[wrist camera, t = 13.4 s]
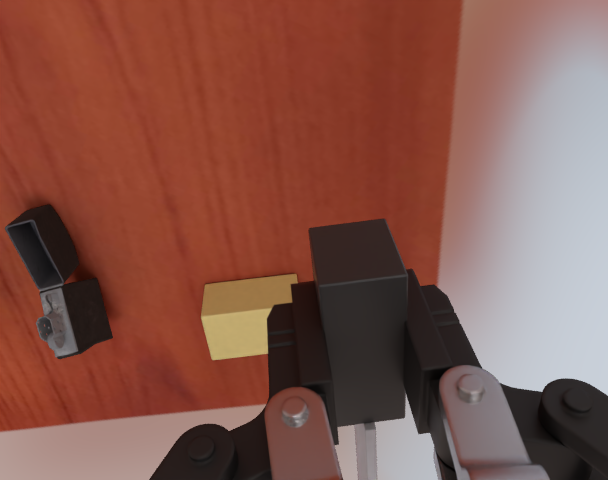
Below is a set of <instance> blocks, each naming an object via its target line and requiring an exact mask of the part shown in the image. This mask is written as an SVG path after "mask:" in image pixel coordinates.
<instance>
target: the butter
mask: <svg viewBox="0 0 608 480" xmlns="http://www.w3.org/2000/svg"><path fill="white" fill-rule="evenodd" d="M294 283H298V281H297V275H296V274H288V275H279V276H271V277H262V278H254V279H245V280H237V281H229V282H220V283H212V284H205V287H204V295H203V303H202V312H201V320H202V324H203V327H204V331H205V335H206V339H207V343H208V347H209V351H210V355H211V358H212V360H219V359H228V358H236V357H244V356H252V355H261V354H268V339H267V336H268V335H267V317H268V315H269V313H270V311H271V309H272V307H273V306H274V305H276V304H284V303H292V294H291V284H294Z"/></svg>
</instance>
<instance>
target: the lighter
mask: <svg viewBox="0 0 608 480" xmlns="http://www.w3.org/2000/svg"><path fill="white" fill-rule="evenodd" d="M5 230H6V232H7V233H8V235H9V237H10V239H11V241H12V242H13V244H14V246H15V248H16V250H17V252H18V253H19V255H20V257H21V259H22V261H23V262H24V264H25V266H26V268H27V270H28V271H29V273H30V275H31V277H32V279H33V281H34V282H35V284H36V286H37V288H38V289H39V290H40V297H41V301H42V306H43V311H44V316H43V317H40V318H38V320H37V322H36V325H37V328H38V332H39V336H40V338H41V339H42V340H44V341H46V342H48V345H49V347H50V348H51V349H52V350H54V353H55V356H56V357H57V358H58V359H62V358H66V357H70V356H74V355H78V354H81V353H83V352H84V351H86V350H87V349H89V348H90V347H91V346H93V345H94V344H96V343H99V342H103V341H106V340H109V339H112V338H113V336H112V332H111V329H110V325H109V321H108V317H107V314H106V310H105V306H104V303H103V299H102V295H101V292H100V288H99V284H98V280H97V278H92V279H87V280H83V281H78V282H73V283H68V284H64V283H65V281H66V280H67V279H68V278H69V276H70V275H71V274H72V273H73V271H74V270H75V269H76V268H77V266H78V265H79V260H78V256H77V253H76V250H75V247H74V245H73V243H72V241H71V238H70V236H69V234H68V232H67V230H66V228H65V226H64V225H63V223H62V221H61V219H60V217H59V216H58V215H57V213H56V212H55V211H54V209H53V208H52V206H51V205H45V206H41V207H37V208H34V209H30V210H27V211H25V212H24V213H23V214H21V215H20V216H19V217H18V218H16V219H15V220H14V221H12V222H11V223H10V224H9V225H7V226H6V227H5ZM63 284H64V285H63ZM38 322H39V324H38ZM44 324H45V327H44ZM40 331H41V333H40ZM46 333H47V335H46Z"/></svg>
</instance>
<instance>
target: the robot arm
mask: <svg viewBox="0 0 608 480" xmlns="http://www.w3.org/2000/svg"><path fill="white" fill-rule="evenodd" d="M406 271H407V274H408V305H407V321H405V329H404V379H403V385H404V388H405V391H406V394H407V398H408V401H409V404H410V408H411V411H412V414H413V418H414V421H415V424H416V427H417V431H418V433H419V434H423V433H430V434H431V437H432V440H433V443H434V463H435V467H436V471H437V476H438V480H608V396H607V395H606V394H604V393H603V392H601V391H600V390H598V389H597V388H595V387H593V386H591V385H590V384H587V383H585V382H582V381H579V380H575V379H558V380H555V381H552V382H550V383H549V384H547V386H545V388H544V390H543V392H538V391H531V390H524V389H517V388H512V387H509V386H506V385H503V384H501V383H499V381H498V380H497V379H496V378H495V377H494V376H493V375H492V374H490V373H489V372H488V371H486V370H484V369H482V367H481V365H480V363H479V361H478V359H477V357H476V355H475V353H474V351H473V349H472V347H471V345H470V342H469V340H468V338H467V336H466V334H465V332H464V330H463V328H462V326H461V324H460V323H459V319H458V317H457V315H456V313H454V309H453V307H452V305H451V303H450V301H449V298H448V297H447V295H445V294H444V293H443V292H442V291H441V290H440V289H439V288H437V287H436V286H435V285H427V286H420V285H419V282H418V280H417V277H416V275H415V273H414V271H413V269H406ZM291 294H292V303H284V304H276V305H274V306H273V307H272V309H271V311H270V313H269V315H268V317H267V335H268V336H267V339H268V367H269V399H268V402H267V404H266V406H265V408H264V409H263V411H262V412H261V413H260V414H259V415H258V416H257V417H256V418H255V419H253V420H252V421H250V422H248V423H246V424H244V425H242V426H240V427H238V428H235V429H233V430H231V431H228V430H227V429H225V428H224V427H222V426H220V425H216V424H203V425H198V426H196V427H193V428H191V429H189V430H188V431H186V432H185V433H184V434H183V435H182V436H180V438H179V439H178V440H177V441H176V443H175V444H174V445H173V447H172V448H171V450H170V451H169V452H168V454H167V455H166V457H165V458H164V459H163V461H162V462H161V464H160V465H159V467H158V468H157V469H156V471H155V472H154V474H153V475H152V476H151V478H150V479H149V480H343V478H342V474H341V470H340V466H339V462H338V458H337V453H336V449H335V445H337V444H339V441H338V431H337V420H336V409H335V398H334V388H333V379H332V373H331V367H330V361H329V355H328V349H327V343H326V337H325V331H323V330H322V325H321V319H320V312H319V306H318V300H317V294H316V287H315V282H314V281H310V282H302V283H294V284H291Z"/></svg>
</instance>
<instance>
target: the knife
mask: <svg viewBox="0 0 608 480" xmlns="http://www.w3.org/2000/svg"><path fill="white" fill-rule="evenodd" d="M309 240H310V249H311V258H312V267H313V277H314V282H315V287H316V294H317V300H318V306H319V312H320V319H321V325H322V330H323V331H325V337H326V343H327V349H328V355H329V361H330V367H331V373H332V379H333V388H334V398H335V409H336V420H337V427H341V426H348V425H355V440H356V453H357V454H356V456H357V471H358V480H377V451H376V427H375V423H374V422H379V421H386V420H394V419H401V418H405V398H406V397H405V396H406V391H405V388H404V385H403V379H404V329H405V321H407V305H408V274H407V271H406V269H405V266H404V264H403V261H402V259H401V256H400V254H399V251H398V249H397V246H396V244H395V242H394V239H393V237H392V234H391V232H390V229H389V227H388V224H387V222H386V220H385V219H377V220H369V221H361V222H353V223H345V224H337V225H329V226H321V227H313V228H309Z"/></svg>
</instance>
